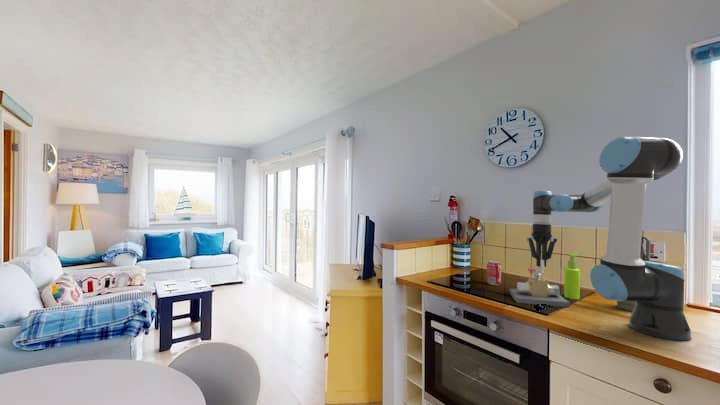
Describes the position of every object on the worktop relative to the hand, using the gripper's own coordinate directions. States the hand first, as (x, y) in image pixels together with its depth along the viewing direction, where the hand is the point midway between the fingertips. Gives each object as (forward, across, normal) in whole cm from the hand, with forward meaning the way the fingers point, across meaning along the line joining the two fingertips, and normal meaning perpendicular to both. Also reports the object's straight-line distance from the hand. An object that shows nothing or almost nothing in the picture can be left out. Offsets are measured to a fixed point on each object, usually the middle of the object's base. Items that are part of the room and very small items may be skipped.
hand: (541, 273), depth 148 cm
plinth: (+10, +5, +9) cm, 14 cm away
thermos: (+10, -28, +16) cm, 34 cm away
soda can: (+10, +16, -16) cm, 25 cm away
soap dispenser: (+10, -13, +2) cm, 17 cm away
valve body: (+9, +5, +9) cm, 13 cm away
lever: (0, +4, +3) cm, 5 cm away
